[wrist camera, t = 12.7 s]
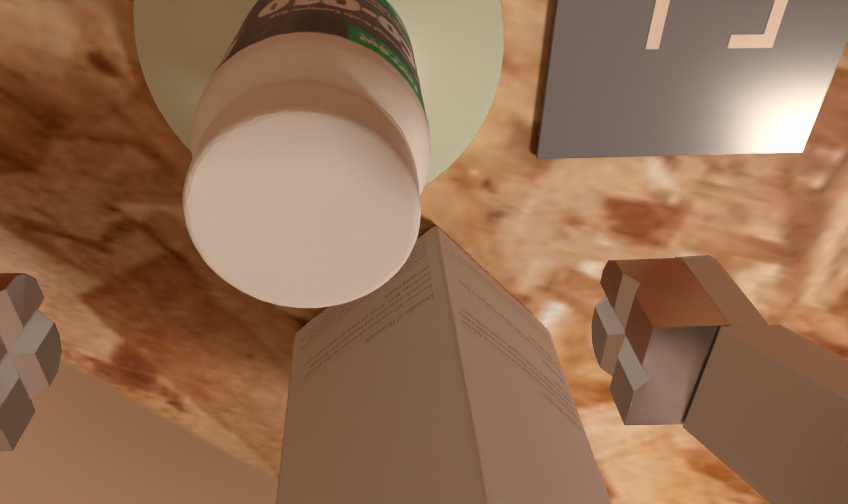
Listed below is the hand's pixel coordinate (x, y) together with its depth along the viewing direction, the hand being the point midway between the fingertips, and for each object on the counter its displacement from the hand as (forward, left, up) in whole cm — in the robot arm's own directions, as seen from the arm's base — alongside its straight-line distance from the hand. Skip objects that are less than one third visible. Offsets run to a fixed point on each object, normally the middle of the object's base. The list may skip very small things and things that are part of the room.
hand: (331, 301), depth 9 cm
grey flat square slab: (+1, -10, -11) cm, 15 cm away
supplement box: (-11, -2, -11) cm, 16 cm away
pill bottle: (0, +1, -10) cm, 10 cm away
